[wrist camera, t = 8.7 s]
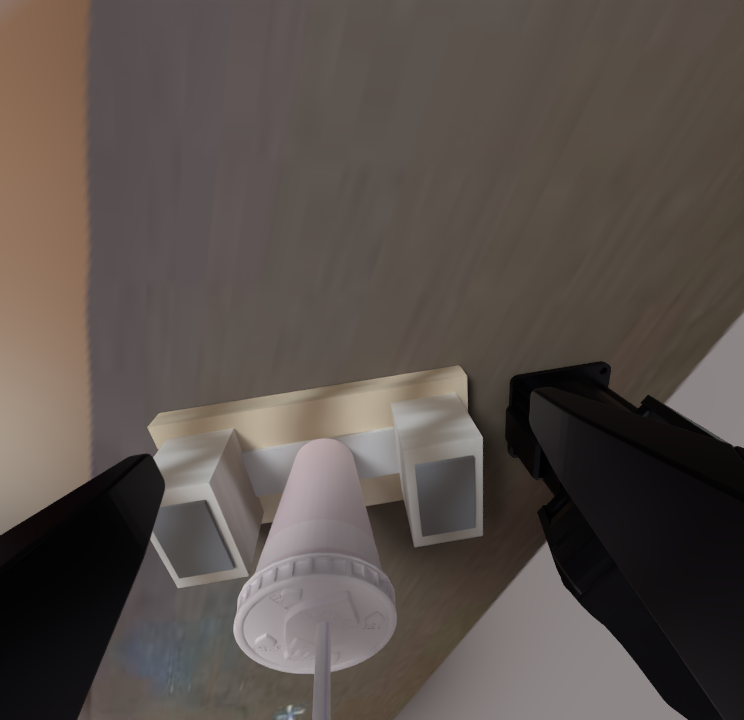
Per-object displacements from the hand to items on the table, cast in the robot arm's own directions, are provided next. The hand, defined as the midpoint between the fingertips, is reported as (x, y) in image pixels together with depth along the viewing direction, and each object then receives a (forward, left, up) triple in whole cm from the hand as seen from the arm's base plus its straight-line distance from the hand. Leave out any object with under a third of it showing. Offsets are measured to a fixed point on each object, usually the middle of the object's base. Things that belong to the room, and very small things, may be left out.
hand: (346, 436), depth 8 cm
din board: (+3, +10, -13) cm, 17 cm away
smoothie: (+3, +10, -11) cm, 15 cm away
